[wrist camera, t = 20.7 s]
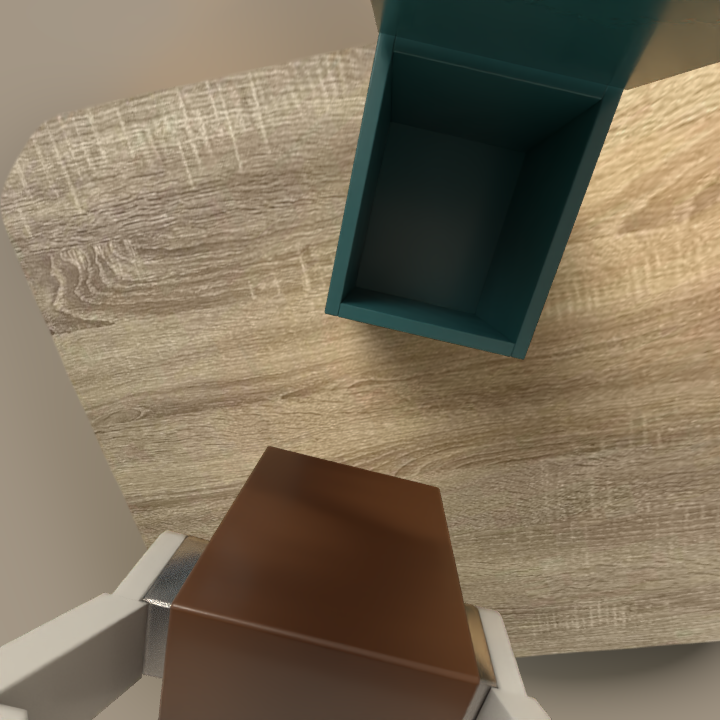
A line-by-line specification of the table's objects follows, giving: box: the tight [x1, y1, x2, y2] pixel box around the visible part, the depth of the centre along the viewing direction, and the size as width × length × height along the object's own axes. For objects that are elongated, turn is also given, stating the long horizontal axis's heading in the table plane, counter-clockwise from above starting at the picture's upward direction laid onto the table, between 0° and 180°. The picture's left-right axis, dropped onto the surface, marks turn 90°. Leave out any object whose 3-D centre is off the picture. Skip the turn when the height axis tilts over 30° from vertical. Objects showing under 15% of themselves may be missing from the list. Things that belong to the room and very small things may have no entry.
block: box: [158, 446, 480, 720], centre depth 8 cm, size 4×4×4 cm
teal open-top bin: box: [325, 33, 624, 360], centre depth 24 cm, size 14×12×11 cm
